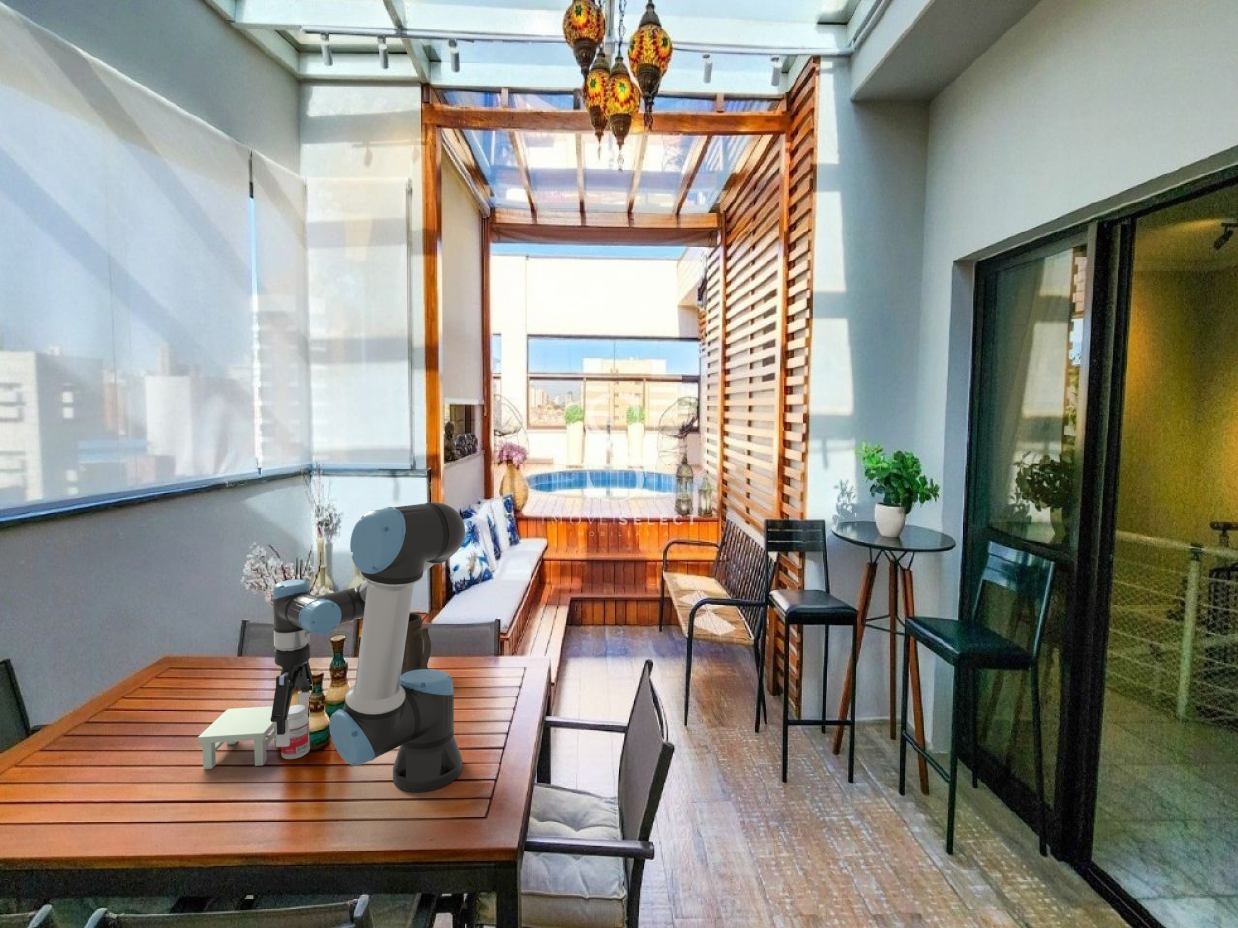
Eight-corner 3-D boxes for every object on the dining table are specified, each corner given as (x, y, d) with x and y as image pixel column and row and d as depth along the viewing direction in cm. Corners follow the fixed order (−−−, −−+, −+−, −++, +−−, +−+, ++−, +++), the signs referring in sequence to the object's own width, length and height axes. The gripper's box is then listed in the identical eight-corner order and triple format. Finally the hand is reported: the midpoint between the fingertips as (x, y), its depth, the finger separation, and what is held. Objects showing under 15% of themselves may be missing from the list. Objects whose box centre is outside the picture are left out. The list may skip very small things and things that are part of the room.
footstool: (264, 766, 142) (263, 732, 141) (199, 770, 140) (197, 737, 139) (288, 735, 156) (287, 705, 155) (228, 739, 154) (227, 708, 153)
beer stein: (378, 683, 187) (380, 619, 186) (400, 669, 198) (402, 609, 196) (421, 693, 183) (424, 628, 181) (441, 678, 193) (444, 617, 191)
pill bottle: (288, 747, 150) (286, 703, 150) (314, 745, 151) (312, 702, 150) (276, 760, 144) (275, 715, 143) (303, 759, 145) (302, 714, 144)
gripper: (288, 665, 134) (290, 758, 136) (326, 626, 159) (327, 705, 160) (252, 667, 133) (254, 760, 135) (295, 627, 158) (297, 707, 159)
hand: (294, 730), depth 147 cm, fingers open, 13 cm apart
